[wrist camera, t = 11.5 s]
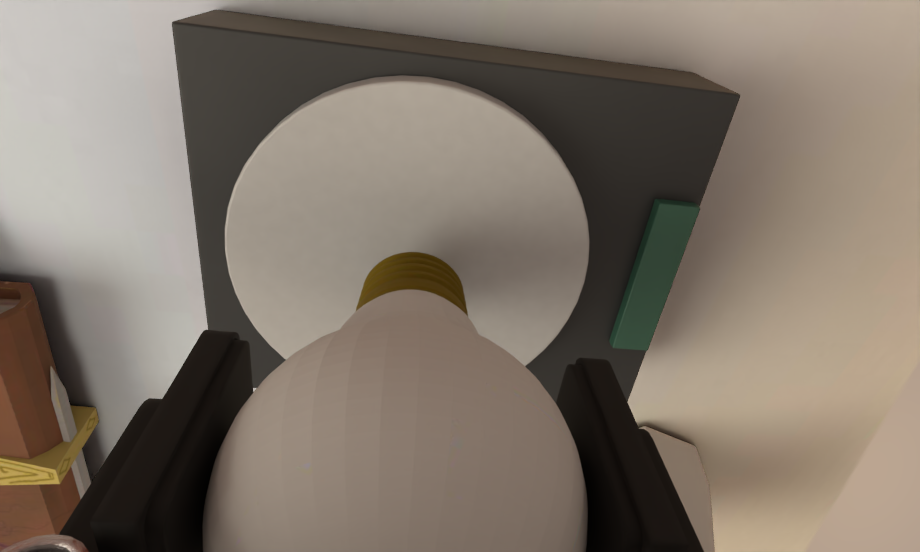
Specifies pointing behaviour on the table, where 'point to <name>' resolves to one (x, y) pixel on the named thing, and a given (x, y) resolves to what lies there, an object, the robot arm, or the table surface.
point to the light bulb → (399, 438)
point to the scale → (440, 183)
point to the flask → (688, 483)
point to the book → (36, 426)
